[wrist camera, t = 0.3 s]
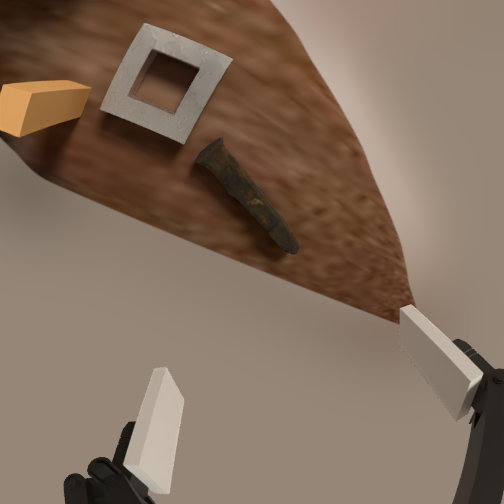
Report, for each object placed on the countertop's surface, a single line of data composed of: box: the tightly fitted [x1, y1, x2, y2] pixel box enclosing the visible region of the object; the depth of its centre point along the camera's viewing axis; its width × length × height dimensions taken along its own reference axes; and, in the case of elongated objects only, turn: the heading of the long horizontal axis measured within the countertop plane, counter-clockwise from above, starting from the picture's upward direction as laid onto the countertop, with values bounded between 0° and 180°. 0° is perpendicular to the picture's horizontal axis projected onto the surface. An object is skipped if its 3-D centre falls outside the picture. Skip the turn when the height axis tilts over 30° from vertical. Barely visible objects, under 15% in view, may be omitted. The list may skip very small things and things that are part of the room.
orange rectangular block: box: [0, 80, 92, 137], centre depth 21 cm, size 4×4×14 cm
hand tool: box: [196, 138, 299, 255], centre depth 36 cm, size 19×4×5 cm, turn 36°
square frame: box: [100, 23, 233, 144], centre depth 27 cm, size 11×11×4 cm
